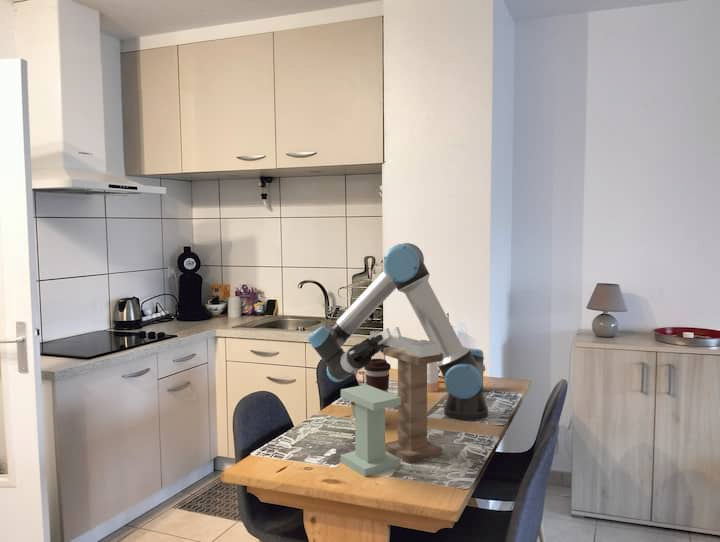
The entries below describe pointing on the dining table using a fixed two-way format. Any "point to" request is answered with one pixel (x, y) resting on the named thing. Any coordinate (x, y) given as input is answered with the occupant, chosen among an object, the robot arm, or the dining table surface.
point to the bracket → (411, 345)
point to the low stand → (370, 430)
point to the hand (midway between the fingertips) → (393, 331)
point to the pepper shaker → (432, 377)
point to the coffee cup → (378, 374)
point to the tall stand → (412, 407)
